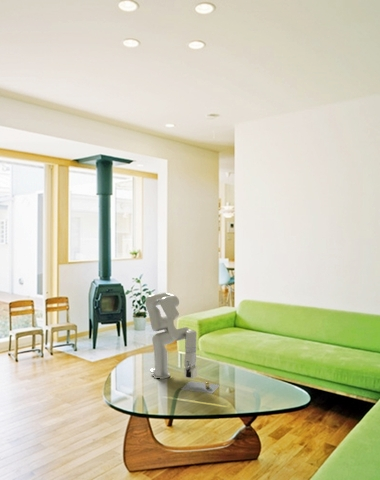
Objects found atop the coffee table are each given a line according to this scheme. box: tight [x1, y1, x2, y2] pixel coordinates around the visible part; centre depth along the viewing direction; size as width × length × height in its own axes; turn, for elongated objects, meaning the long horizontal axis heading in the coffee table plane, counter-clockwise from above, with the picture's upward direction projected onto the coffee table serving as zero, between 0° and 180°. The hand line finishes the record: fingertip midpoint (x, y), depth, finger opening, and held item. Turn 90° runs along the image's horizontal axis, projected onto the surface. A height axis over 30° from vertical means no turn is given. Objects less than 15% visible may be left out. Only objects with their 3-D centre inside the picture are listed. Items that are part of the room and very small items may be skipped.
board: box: [181, 380, 221, 395], centre depth 263 cm, size 22×15×1 cm
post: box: [204, 380, 210, 389], centre depth 261 cm, size 3×3×4 cm
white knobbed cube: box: [183, 365, 198, 380], centre depth 266 cm, size 7×7×7 cm
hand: (190, 374), depth 266 cm, fingers closed on white knobbed cube, 6 cm apart
